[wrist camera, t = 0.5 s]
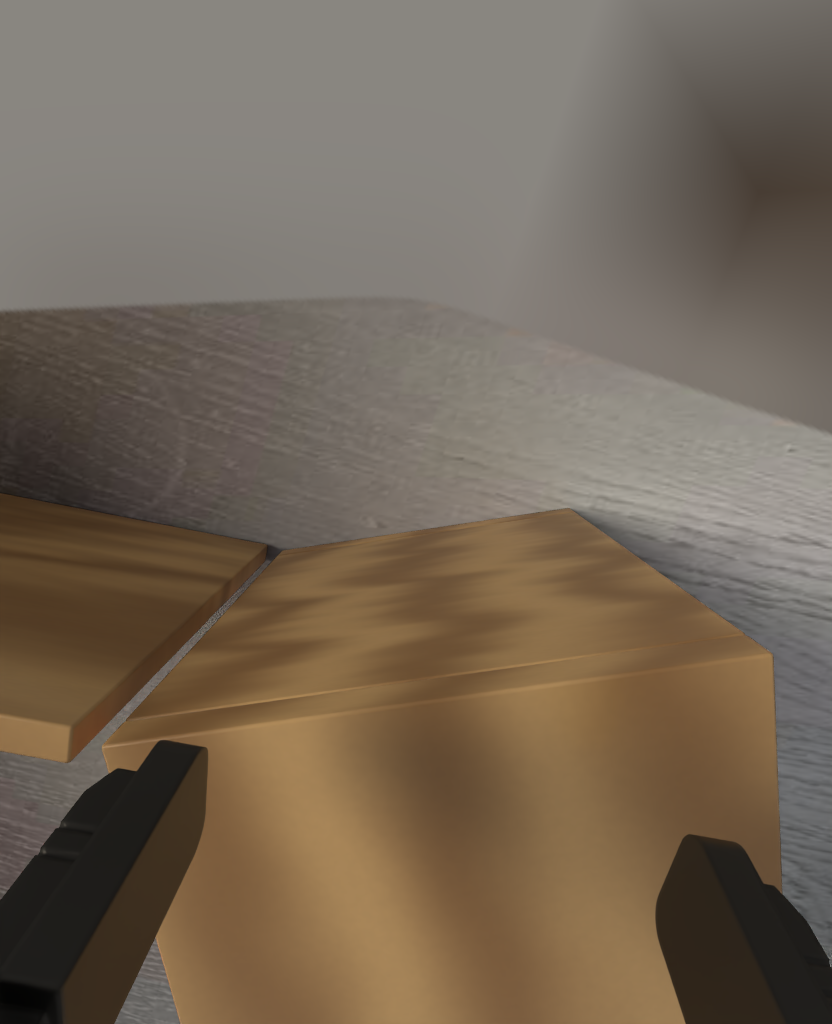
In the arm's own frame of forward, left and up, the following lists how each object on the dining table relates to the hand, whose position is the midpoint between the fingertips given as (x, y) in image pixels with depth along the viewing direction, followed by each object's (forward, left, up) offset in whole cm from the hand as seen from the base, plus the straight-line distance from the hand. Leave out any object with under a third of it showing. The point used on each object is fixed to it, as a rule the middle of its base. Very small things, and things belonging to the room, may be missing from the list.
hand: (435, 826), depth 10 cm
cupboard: (+8, +7, -18) cm, 21 cm away
